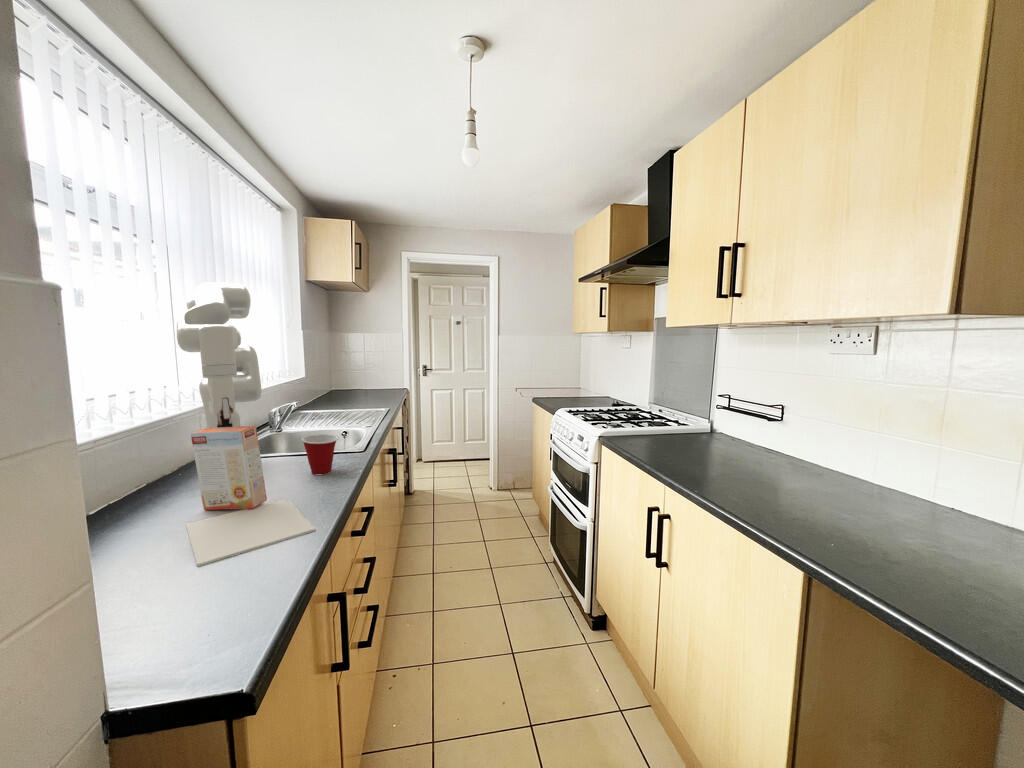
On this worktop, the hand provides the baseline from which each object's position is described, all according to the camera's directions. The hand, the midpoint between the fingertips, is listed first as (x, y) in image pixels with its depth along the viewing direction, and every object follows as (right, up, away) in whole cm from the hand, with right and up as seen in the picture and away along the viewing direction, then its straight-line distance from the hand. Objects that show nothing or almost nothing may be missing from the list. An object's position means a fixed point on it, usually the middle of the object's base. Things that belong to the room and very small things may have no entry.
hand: (226, 438), depth 113 cm
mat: (+16, -19, -15) cm, 29 cm away
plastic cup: (+15, -15, +24) cm, 32 cm away
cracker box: (+5, -18, -3) cm, 18 cm away
